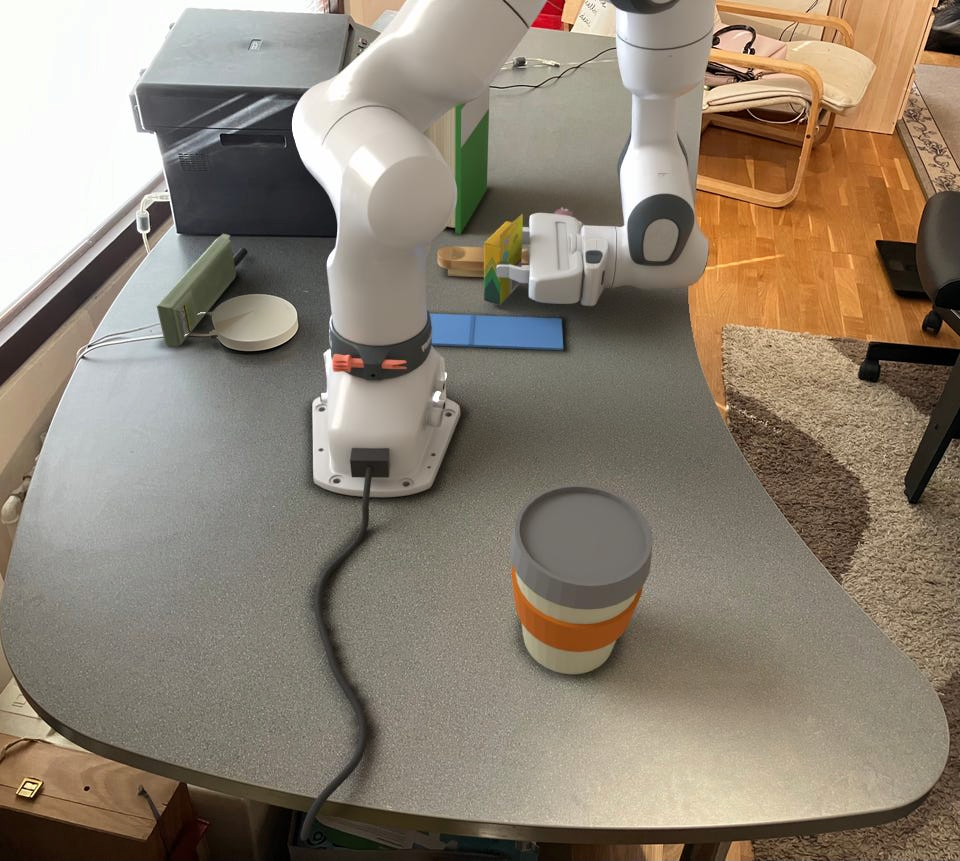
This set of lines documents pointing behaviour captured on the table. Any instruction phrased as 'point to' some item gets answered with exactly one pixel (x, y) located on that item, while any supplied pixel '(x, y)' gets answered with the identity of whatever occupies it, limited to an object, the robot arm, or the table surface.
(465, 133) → the hardback book
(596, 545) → the reusable coffee cup
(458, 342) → the blue cloth
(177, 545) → the table surface
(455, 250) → the scrub brush
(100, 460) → the table surface
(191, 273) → the handheld radio
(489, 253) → the crayon box
